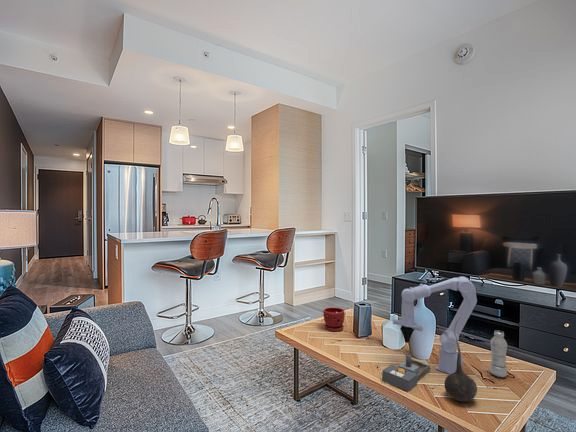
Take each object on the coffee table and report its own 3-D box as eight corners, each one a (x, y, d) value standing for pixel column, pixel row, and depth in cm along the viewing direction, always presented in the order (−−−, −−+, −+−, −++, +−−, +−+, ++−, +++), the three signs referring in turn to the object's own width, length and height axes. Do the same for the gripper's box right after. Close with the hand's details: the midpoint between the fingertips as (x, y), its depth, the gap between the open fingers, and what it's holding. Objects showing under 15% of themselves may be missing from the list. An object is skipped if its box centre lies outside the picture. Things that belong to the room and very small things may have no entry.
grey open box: (417, 384, 139) (417, 373, 139) (408, 391, 133) (408, 379, 133) (391, 374, 147) (391, 363, 147) (382, 380, 142) (382, 369, 142)
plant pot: (346, 327, 207) (346, 308, 207) (341, 334, 195) (341, 314, 195) (326, 323, 212) (327, 305, 212) (320, 330, 200) (320, 311, 200)
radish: (477, 393, 133) (478, 320, 132) (476, 410, 121) (478, 330, 120) (446, 385, 139) (447, 315, 138) (442, 401, 127) (444, 324, 126)
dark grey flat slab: (430, 370, 151) (430, 365, 151) (415, 383, 140) (415, 377, 140) (409, 363, 158) (409, 358, 158) (393, 374, 147) (393, 369, 147)
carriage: (419, 373, 146) (419, 355, 146) (413, 377, 141) (413, 359, 141) (404, 367, 151) (404, 350, 150) (397, 372, 146) (398, 354, 146)
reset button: (406, 378, 141) (406, 369, 141) (402, 380, 139) (402, 372, 139) (399, 375, 143) (399, 367, 143) (396, 378, 141) (396, 369, 141)
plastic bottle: (501, 380, 143) (502, 335, 142) (486, 373, 149) (487, 330, 148) (510, 377, 146) (511, 333, 145) (494, 370, 152) (495, 328, 151)
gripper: (426, 316, 155) (425, 344, 155) (397, 309, 166) (397, 335, 166) (419, 319, 150) (419, 348, 151) (390, 312, 161) (390, 339, 161)
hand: (407, 342), depth 158 cm, fingers closed
